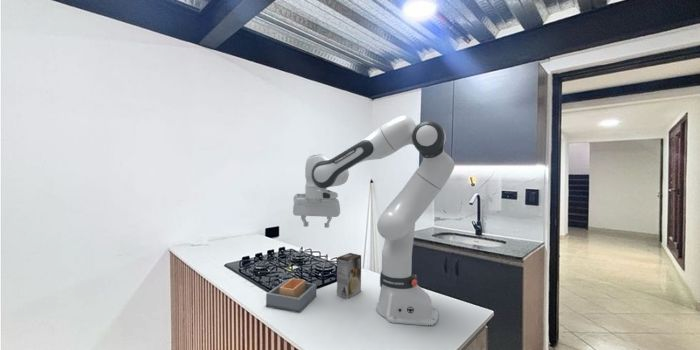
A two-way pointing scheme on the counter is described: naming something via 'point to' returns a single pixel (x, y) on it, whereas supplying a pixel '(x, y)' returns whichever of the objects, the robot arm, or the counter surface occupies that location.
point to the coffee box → (348, 275)
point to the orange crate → (293, 288)
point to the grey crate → (290, 298)
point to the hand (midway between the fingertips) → (316, 226)
